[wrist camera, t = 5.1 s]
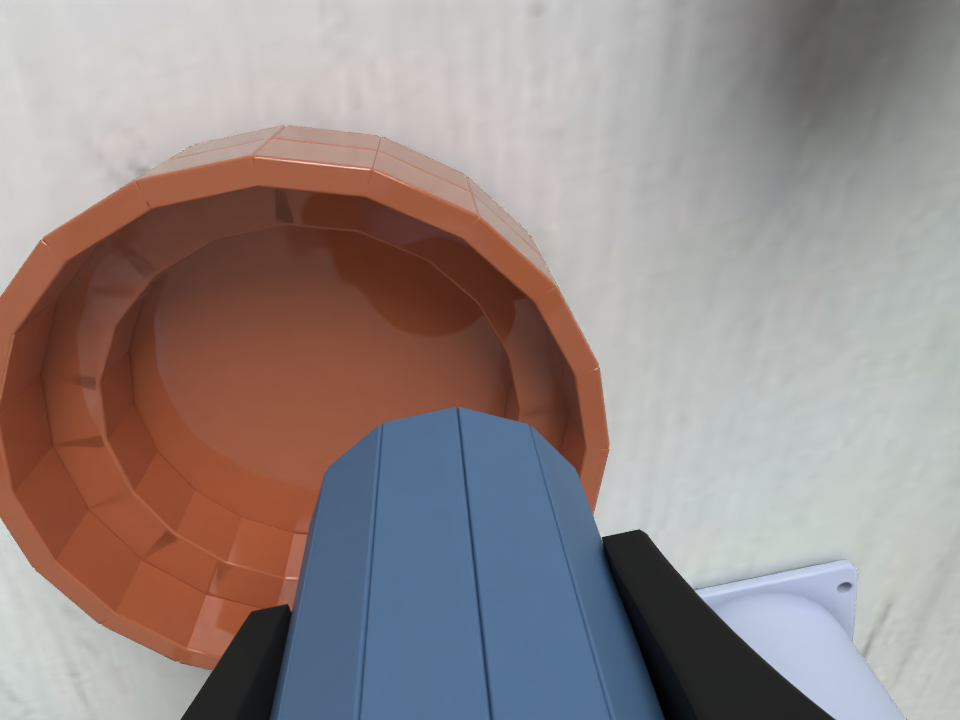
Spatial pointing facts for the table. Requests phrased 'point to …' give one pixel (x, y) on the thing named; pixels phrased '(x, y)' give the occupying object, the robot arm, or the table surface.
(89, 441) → the bowl
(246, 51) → the table surface
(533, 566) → the blue cup
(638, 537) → the robot arm
